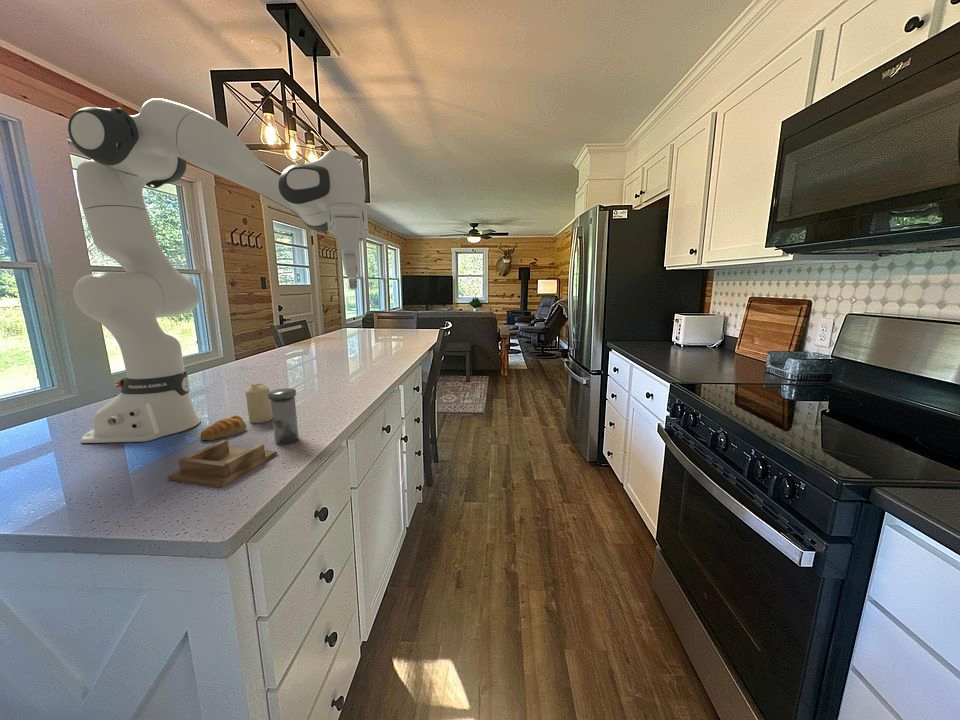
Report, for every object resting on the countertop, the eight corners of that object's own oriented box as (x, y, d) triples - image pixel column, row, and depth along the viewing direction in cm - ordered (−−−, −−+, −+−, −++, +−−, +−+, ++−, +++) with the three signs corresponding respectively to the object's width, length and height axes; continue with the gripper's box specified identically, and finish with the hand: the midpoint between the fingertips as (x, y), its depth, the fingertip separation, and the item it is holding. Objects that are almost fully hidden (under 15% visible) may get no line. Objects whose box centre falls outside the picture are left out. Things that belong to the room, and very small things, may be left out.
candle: (262, 424, 100) (257, 387, 98) (244, 422, 101) (239, 386, 99) (277, 417, 105) (273, 382, 103) (260, 415, 106) (255, 381, 104)
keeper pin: (270, 446, 86) (264, 396, 84) (276, 437, 92) (271, 389, 89) (298, 444, 88) (293, 394, 85) (302, 434, 93) (298, 387, 91)
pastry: (212, 444, 88) (209, 429, 87) (193, 440, 91) (191, 425, 90) (249, 430, 96) (248, 416, 96) (232, 426, 99) (230, 412, 98)
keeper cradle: (220, 487, 69) (218, 470, 68) (168, 480, 72) (165, 463, 71) (277, 454, 82) (275, 440, 82) (231, 449, 85) (229, 435, 84)
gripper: (337, 241, 96) (341, 295, 95) (328, 203, 76) (334, 271, 75) (363, 241, 98) (367, 294, 97) (361, 204, 78) (366, 270, 77)
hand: (352, 284), depth 86 cm, fingers open, 8 cm apart
